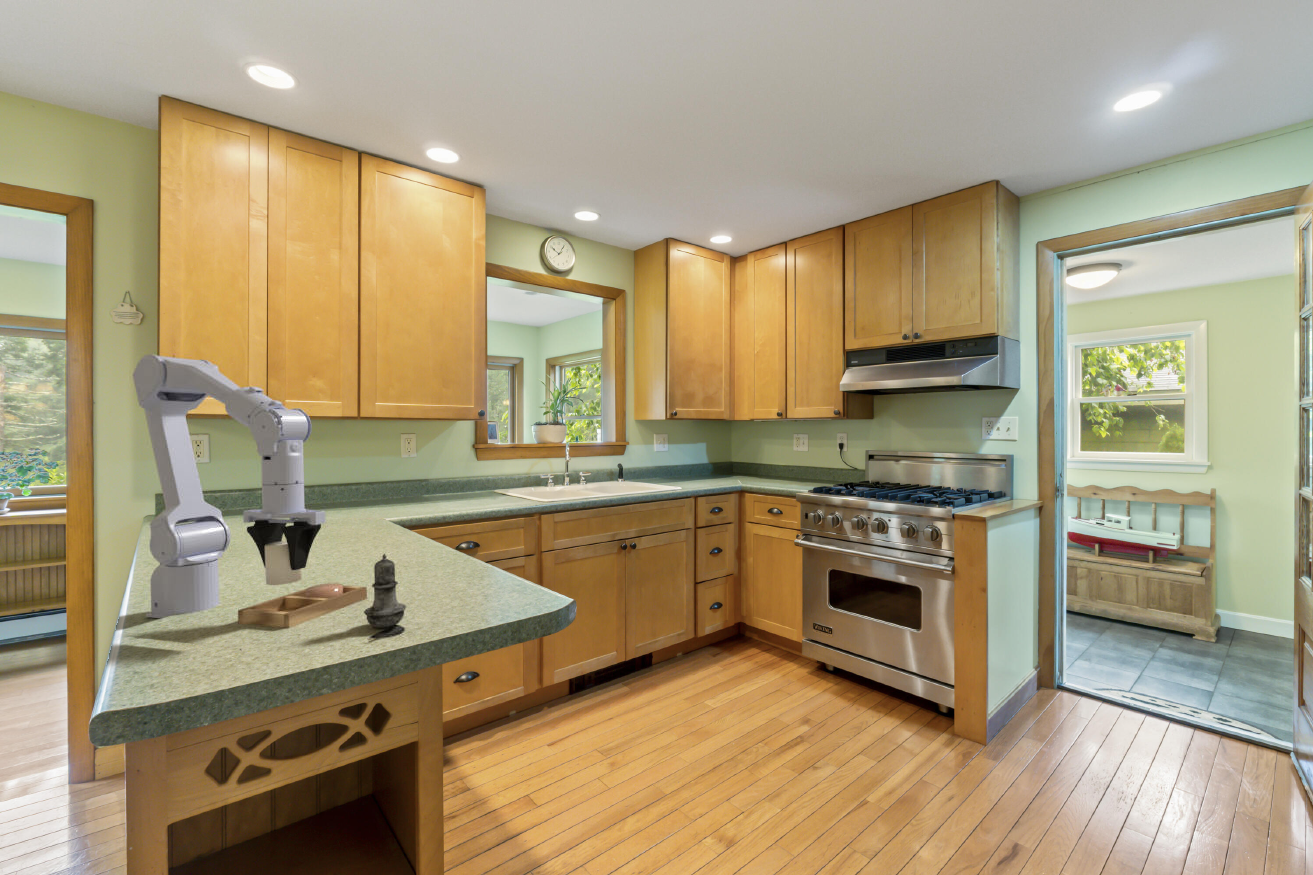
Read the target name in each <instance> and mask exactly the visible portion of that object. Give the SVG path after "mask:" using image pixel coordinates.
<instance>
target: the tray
mask: <svg viewBox="0 0 1313 875" xmlns="http://www.w3.org/2000/svg"><path fill="white" fill-rule="evenodd" d="M367 588H368V587H367V586H357V585H356V586H355V585H343V594H340V595H337V596H334V597H331V598H329V599H328V598H314V597H306V589H307V588H305V589H301V590H298V591H295V592H292V593H287V594H285V595H283V596H279V597H276V598H273V599H269V600H266V601H263V602H259V603H257V604H253V605H250V606H247V607H244V608H240V609H237V623H238V624H240V625H251V626H261V627H262V626H264V627H266V626H267V627H274V628H286V629H291V628H293V627H296V626H298V625H301V624H304V623H307V622H309V621H311V620H314V619H317V618H320V617H323V616H324V615H328V614H330V613H333V612H335V611H338V610H340V609H341V610H342V609H343V608H346V607H348V606H352V605H354V604H356V603H359V602H362V601H364V600H366V599H367V600H368V589H367Z"/></svg>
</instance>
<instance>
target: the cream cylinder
mask: <svg viewBox="0 0 1313 875" xmlns="http://www.w3.org/2000/svg"><path fill="white" fill-rule="evenodd" d="M264 569H265V585H268V586H279V585H281V586H282V585H287V584H291V583H292V584H293V583H296V582H299V581H301V580H302V569H298V570H292V569H291V566H290V558H289V548H288V544H287V541H286V540H282V541H280V542H274V543H269V544H266V545H265V567H264Z"/></svg>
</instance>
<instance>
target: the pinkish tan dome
mask: <svg viewBox="0 0 1313 875" xmlns="http://www.w3.org/2000/svg"><path fill="white" fill-rule="evenodd" d="M343 586H344V585H343V583H336V582H335V583H334V582H332V583H331V582H328V583H321V584H316V585H311V586H310V587H307V588H305V589H306V597H314V598H328V599H329V598H331V597H334V596H337V595H340V594H343Z"/></svg>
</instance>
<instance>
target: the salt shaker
mask: <svg viewBox="0 0 1313 875" xmlns="http://www.w3.org/2000/svg"><path fill="white" fill-rule="evenodd" d="M387 557H388V556H387V555H386V554H385V553H383V554H382V556H381V559H380V560H378V561H377V562H375V564H374V566H373V569H374V570H373V572H374V574H373V575H374V583H372V584H371V587H372V588H373V592H374V594H373V595H374V598H373V603H372V605H371V606H370V607H368V608H366V609H365V610H364V611H363V614H364V615H366V620H367V622H368V624H369V625H370V626H372V627H373V628H378V629H383V630H381V631H379V632H376V633H375V634H371V635H370V636H368V638H370V639H387V638H392V637H396V636H399V635H401V634H402V633H404V632H405V629H406V628H405V627H404V626H401V625H400V624H399V623H400V621H401V620H403V617H404V616H405V610H406V609H407V605H406V604H404V603H399V602H398V599H397V591H396V590H397V589H396V588H397V585H398V584H399V583H398V581H396V566H395V563H394V561H393V560H391V559H388V558H387ZM401 622H402V621H401Z"/></svg>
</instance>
